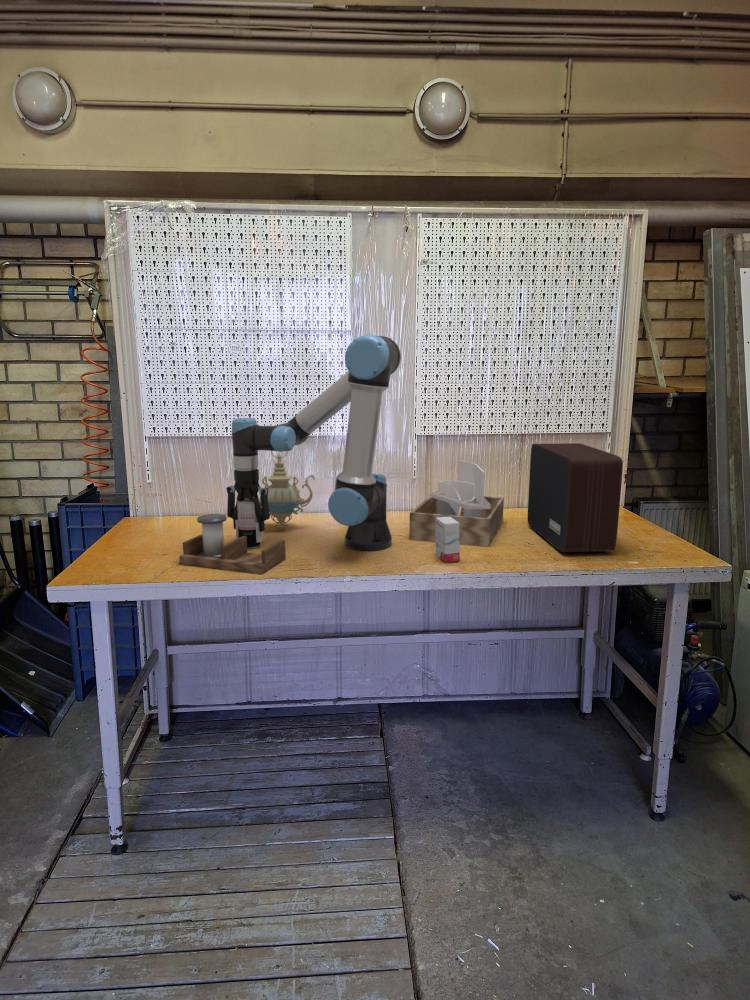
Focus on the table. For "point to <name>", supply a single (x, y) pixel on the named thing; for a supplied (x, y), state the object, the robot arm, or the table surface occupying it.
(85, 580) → the table surface
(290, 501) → the ornate lidded vase
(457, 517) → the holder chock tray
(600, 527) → the brown wooden speaker
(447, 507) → the architectural model
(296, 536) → the table surface
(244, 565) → the wooden divided tray
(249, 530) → the beverage can
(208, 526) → the cable reel
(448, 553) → the ink box
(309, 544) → the table surface
